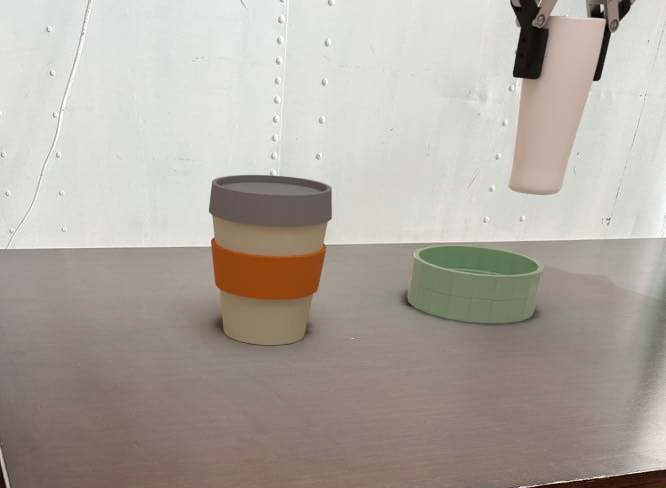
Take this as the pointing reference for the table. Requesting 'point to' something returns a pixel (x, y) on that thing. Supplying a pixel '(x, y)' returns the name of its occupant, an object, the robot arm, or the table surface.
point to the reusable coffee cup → (268, 253)
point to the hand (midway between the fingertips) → (556, 77)
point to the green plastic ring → (474, 283)
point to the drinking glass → (554, 104)
